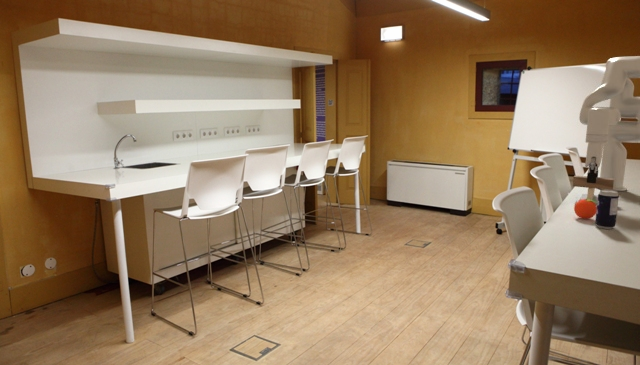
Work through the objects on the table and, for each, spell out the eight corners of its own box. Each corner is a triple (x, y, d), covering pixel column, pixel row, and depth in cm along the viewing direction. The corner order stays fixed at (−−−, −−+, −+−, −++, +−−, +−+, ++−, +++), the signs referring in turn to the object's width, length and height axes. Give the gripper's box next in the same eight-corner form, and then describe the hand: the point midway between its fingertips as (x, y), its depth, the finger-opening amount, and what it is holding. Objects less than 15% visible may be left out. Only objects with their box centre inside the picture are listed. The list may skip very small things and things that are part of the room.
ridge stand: (582, 196, 200) (583, 182, 199) (601, 197, 196) (602, 184, 195) (578, 203, 185) (579, 188, 184) (598, 205, 181) (600, 190, 180)
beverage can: (609, 225, 153) (613, 189, 151) (618, 229, 147) (623, 193, 145) (591, 224, 154) (595, 189, 151) (600, 229, 148) (604, 192, 146)
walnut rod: (573, 184, 193) (574, 175, 192) (613, 188, 185) (614, 178, 185) (572, 186, 190) (573, 176, 189) (612, 189, 182) (613, 179, 181)
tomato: (599, 218, 162) (602, 198, 161) (598, 222, 156) (601, 202, 155) (574, 215, 166) (576, 195, 165) (572, 219, 160) (574, 199, 159)
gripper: (587, 137, 193) (583, 177, 196) (583, 140, 179) (579, 183, 182) (608, 138, 189) (603, 179, 192) (606, 141, 175) (601, 185, 178)
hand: (592, 181), depth 187 cm, fingers open, 9 cm apart
